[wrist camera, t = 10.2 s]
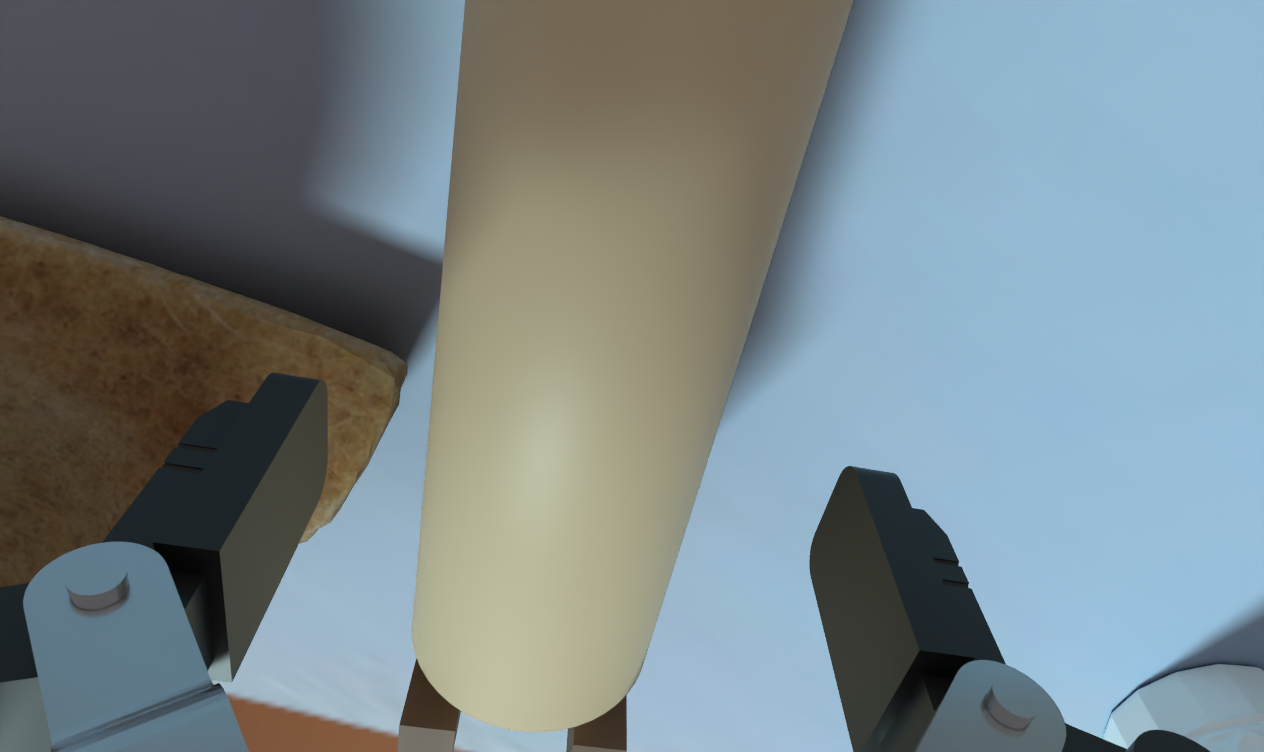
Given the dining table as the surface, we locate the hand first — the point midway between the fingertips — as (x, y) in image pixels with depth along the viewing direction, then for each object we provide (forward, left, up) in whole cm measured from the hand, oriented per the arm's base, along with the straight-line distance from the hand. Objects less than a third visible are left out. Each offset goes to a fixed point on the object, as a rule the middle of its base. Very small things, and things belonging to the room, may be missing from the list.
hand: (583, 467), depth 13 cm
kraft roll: (0, 0, -6) cm, 6 cm away
